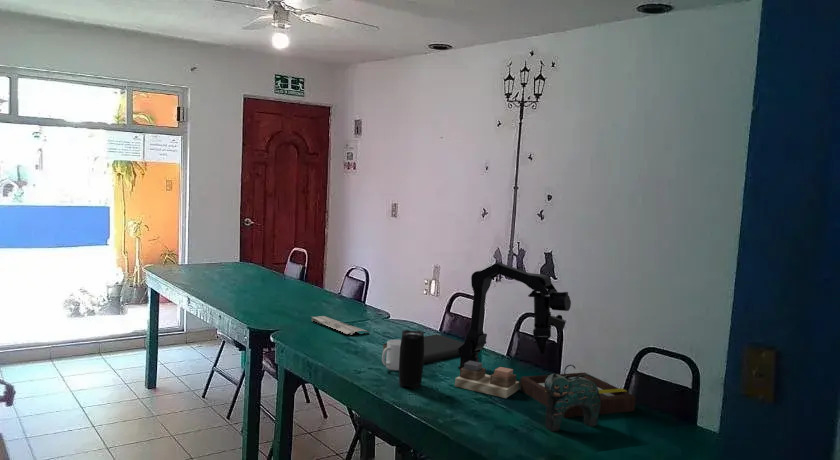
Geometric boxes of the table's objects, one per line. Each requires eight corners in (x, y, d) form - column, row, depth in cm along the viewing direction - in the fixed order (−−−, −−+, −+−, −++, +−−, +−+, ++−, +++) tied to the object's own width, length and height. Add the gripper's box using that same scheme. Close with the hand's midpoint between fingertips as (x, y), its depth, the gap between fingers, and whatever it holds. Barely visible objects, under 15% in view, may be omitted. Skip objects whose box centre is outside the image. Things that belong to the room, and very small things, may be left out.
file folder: (436, 333, 299) (476, 345, 282) (435, 342, 299) (475, 355, 282) (382, 342, 276) (421, 356, 259) (381, 352, 276) (421, 366, 259)
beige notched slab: (369, 335, 305) (369, 327, 305) (347, 338, 297) (348, 330, 296) (327, 320, 331) (327, 313, 331) (306, 322, 322) (306, 315, 322)
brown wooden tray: (637, 392, 219) (562, 399, 208) (635, 411, 219) (561, 419, 208) (586, 369, 245) (517, 373, 234) (585, 386, 245) (516, 391, 234)
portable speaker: (422, 382, 236) (425, 329, 235) (420, 390, 227) (424, 336, 225) (399, 380, 236) (402, 328, 235) (396, 388, 227) (400, 334, 226)
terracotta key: (494, 378, 230) (494, 369, 230) (499, 374, 234) (500, 366, 234) (507, 380, 227) (507, 372, 227) (512, 377, 232) (513, 369, 232)
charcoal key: (463, 371, 236) (464, 363, 236) (469, 368, 240) (470, 360, 240) (476, 374, 233) (476, 366, 233) (481, 371, 238) (482, 363, 237)
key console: (454, 386, 234) (455, 370, 233) (469, 378, 244) (470, 363, 244) (506, 398, 224) (507, 381, 224) (518, 389, 234) (520, 373, 234)
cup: (411, 368, 253) (412, 343, 252) (389, 373, 244) (390, 347, 244) (396, 363, 259) (398, 338, 258) (374, 368, 250) (375, 342, 249)
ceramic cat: (549, 433, 194) (554, 368, 192) (536, 426, 200) (541, 362, 198) (602, 427, 202) (607, 364, 200) (588, 419, 208) (593, 359, 206)
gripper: (564, 313, 228) (565, 357, 228) (563, 306, 246) (564, 346, 246) (532, 313, 230) (533, 356, 230) (534, 305, 248) (535, 346, 249)
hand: (542, 351), depth 239 cm, fingers open, 9 cm apart
